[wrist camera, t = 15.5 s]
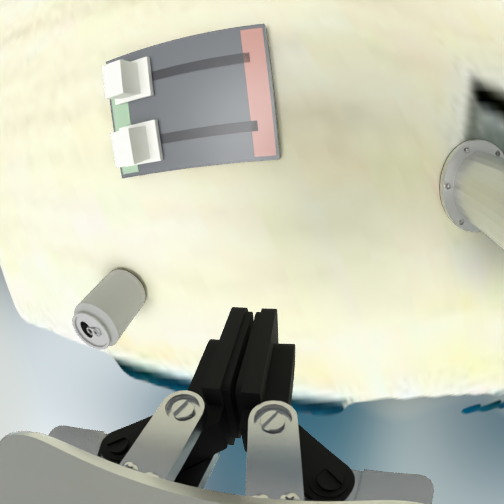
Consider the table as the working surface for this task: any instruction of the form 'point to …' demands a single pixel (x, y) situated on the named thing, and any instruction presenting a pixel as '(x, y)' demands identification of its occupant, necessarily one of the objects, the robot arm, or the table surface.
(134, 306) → the can
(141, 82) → the breaker
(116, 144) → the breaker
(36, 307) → the table surface
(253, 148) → the slider switch panel
